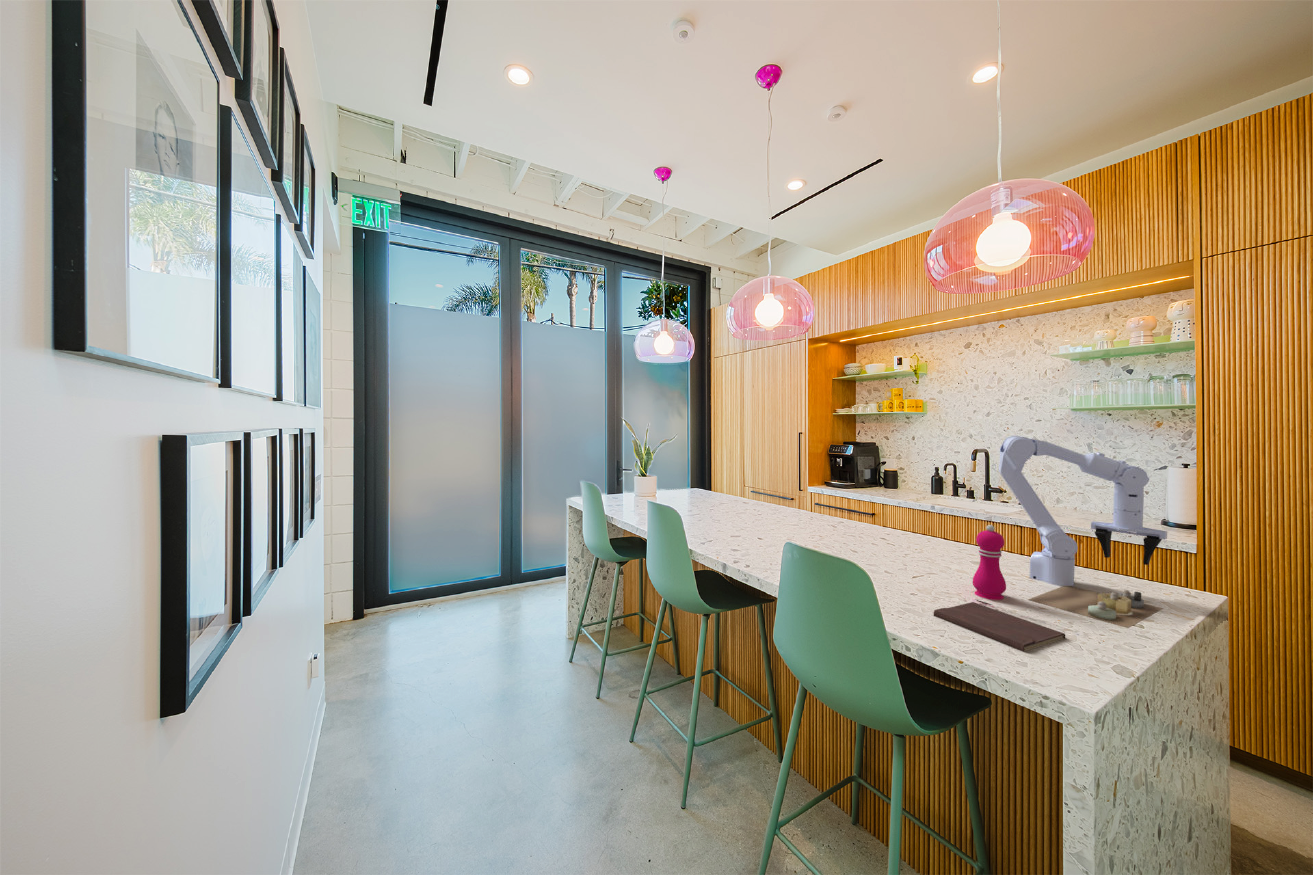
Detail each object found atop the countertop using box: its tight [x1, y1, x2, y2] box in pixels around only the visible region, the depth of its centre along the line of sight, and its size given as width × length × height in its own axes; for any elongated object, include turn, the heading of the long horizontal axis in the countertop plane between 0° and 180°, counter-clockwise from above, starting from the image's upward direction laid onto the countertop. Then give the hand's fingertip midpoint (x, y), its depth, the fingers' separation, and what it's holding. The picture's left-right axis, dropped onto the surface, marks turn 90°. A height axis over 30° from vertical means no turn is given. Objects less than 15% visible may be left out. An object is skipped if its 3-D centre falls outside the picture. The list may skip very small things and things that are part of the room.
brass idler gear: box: [1097, 592, 1131, 614], centre depth 115 cm, size 5×5×3 cm
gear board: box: [1027, 585, 1164, 629], centre depth 119 cm, size 19×22×6 cm
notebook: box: [933, 601, 1066, 652], centre depth 110 cm, size 15×20×2 cm
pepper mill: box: [972, 524, 1007, 606], centre depth 125 cm, size 7×7×20 cm
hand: (1126, 560), depth 129 cm, fingers open, 7 cm apart
